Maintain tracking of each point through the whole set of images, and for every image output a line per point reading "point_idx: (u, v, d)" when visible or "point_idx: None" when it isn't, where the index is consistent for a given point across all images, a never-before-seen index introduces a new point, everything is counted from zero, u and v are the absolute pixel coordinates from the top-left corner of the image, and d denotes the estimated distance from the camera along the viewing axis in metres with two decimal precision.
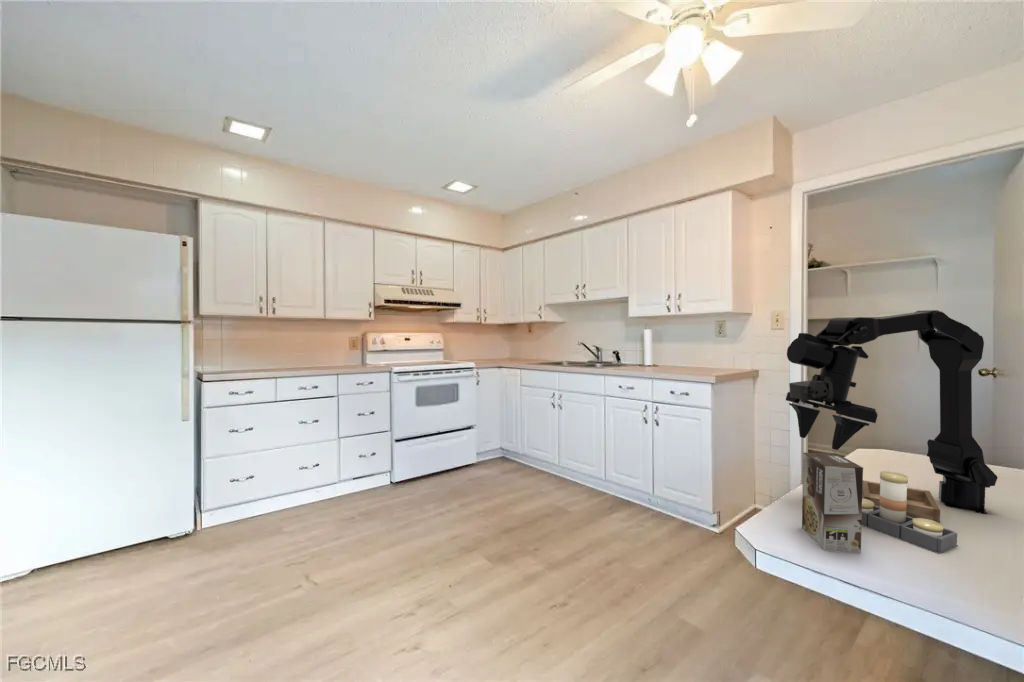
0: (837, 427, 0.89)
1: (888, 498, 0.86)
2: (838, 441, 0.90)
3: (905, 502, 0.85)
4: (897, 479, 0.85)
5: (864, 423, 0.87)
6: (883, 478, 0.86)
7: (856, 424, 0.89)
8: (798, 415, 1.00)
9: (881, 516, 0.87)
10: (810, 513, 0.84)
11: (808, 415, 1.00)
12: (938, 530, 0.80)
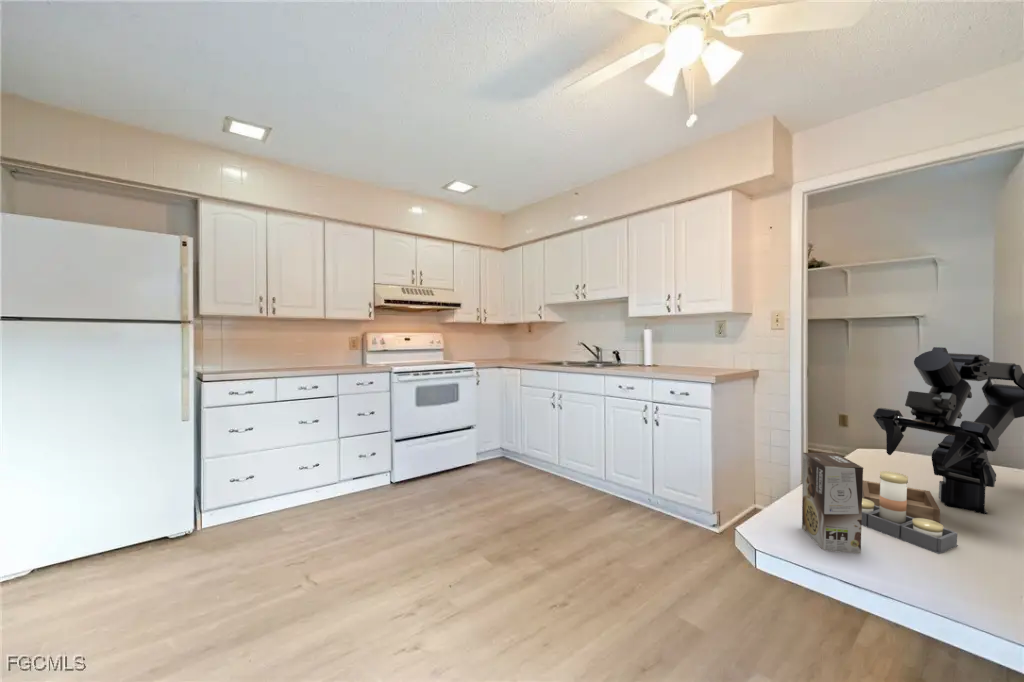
0: (955, 445, 0.85)
1: (888, 498, 0.86)
2: (951, 458, 0.85)
3: (905, 502, 0.85)
4: (897, 479, 0.85)
5: (983, 448, 0.85)
6: (883, 478, 0.86)
7: (971, 448, 0.86)
8: (888, 431, 0.96)
9: (881, 516, 0.87)
10: (810, 513, 0.84)
11: (897, 435, 0.96)
12: (938, 530, 0.80)
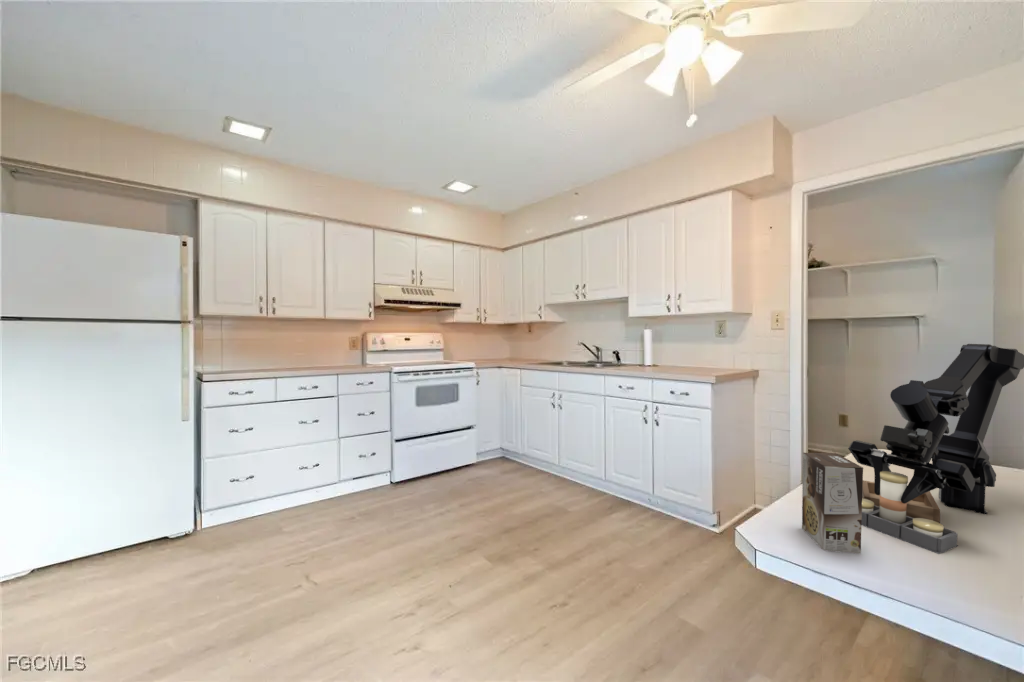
0: (914, 480, 0.84)
1: (888, 498, 0.86)
2: (910, 494, 0.84)
3: None
4: (897, 479, 0.85)
5: (942, 484, 0.83)
6: (883, 478, 0.86)
7: (930, 483, 0.84)
8: (877, 469, 0.90)
9: (881, 516, 0.87)
10: (810, 513, 0.84)
11: None
12: (938, 530, 0.80)
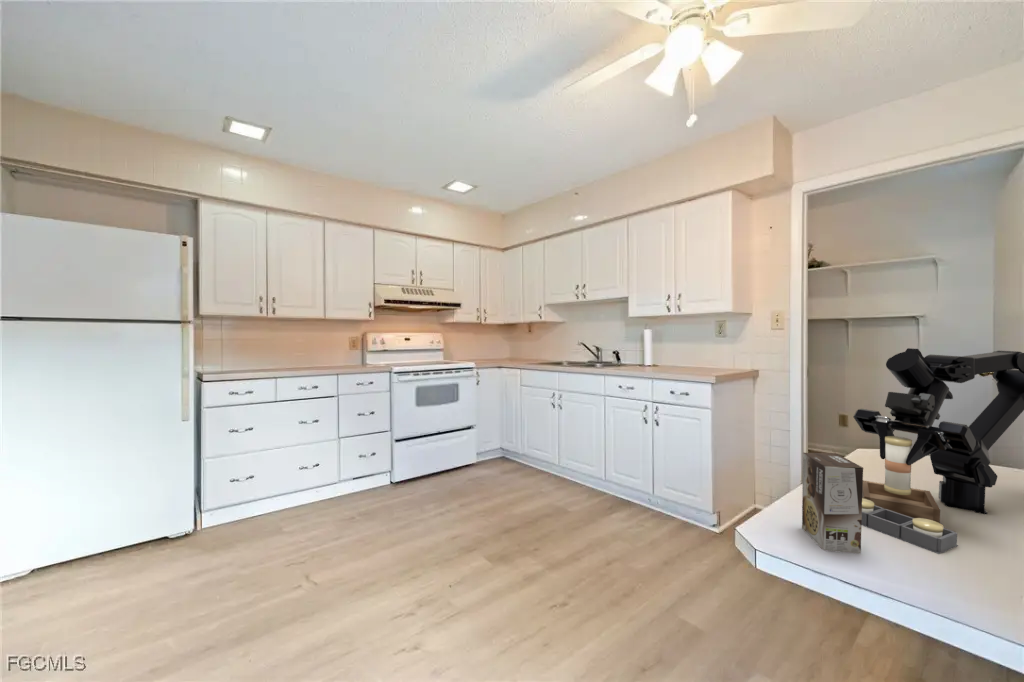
0: (918, 442, 0.88)
1: (893, 461, 0.89)
2: (914, 456, 0.87)
3: None
4: (901, 442, 0.88)
5: (944, 446, 0.87)
6: (888, 442, 0.90)
7: (933, 446, 0.88)
8: (881, 435, 0.93)
9: (887, 479, 0.91)
10: (810, 513, 0.84)
11: None
12: (938, 530, 0.80)
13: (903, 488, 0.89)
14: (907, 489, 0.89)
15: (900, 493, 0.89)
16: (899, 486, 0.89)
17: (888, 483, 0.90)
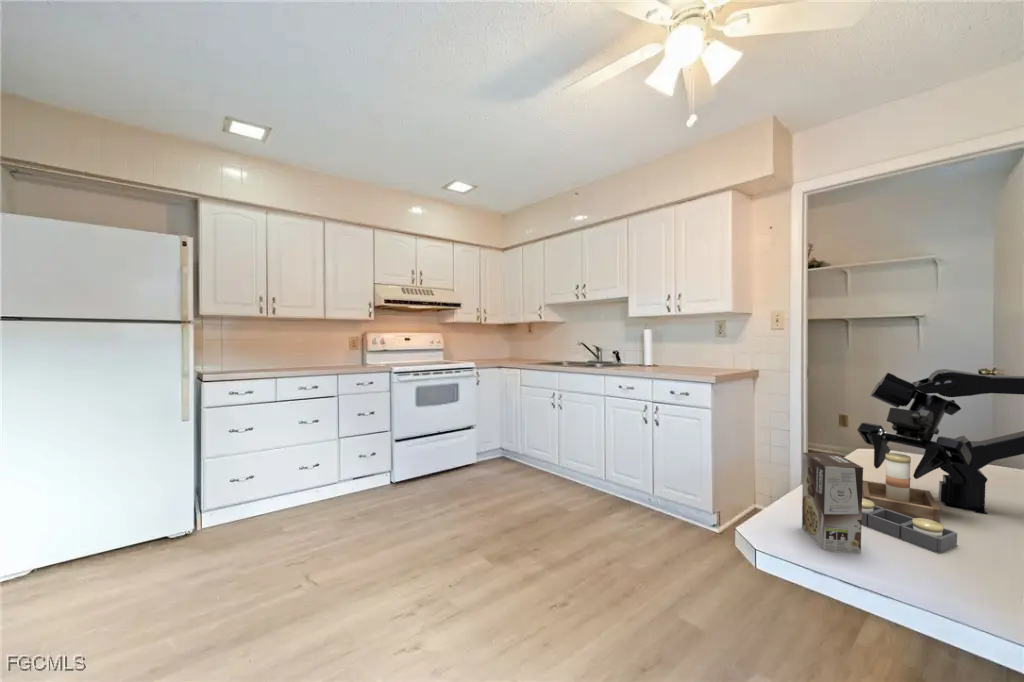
0: (926, 457, 0.93)
1: (893, 476, 0.96)
2: (922, 470, 0.93)
3: (909, 480, 0.95)
4: (900, 459, 0.95)
5: (950, 461, 0.92)
6: (888, 459, 0.97)
7: (940, 461, 0.93)
8: (876, 446, 1.01)
9: (887, 493, 0.97)
10: (810, 513, 0.84)
11: (884, 449, 1.01)
12: (938, 530, 0.80)
13: None
14: None
15: None
16: (899, 500, 0.95)
17: (889, 497, 0.97)
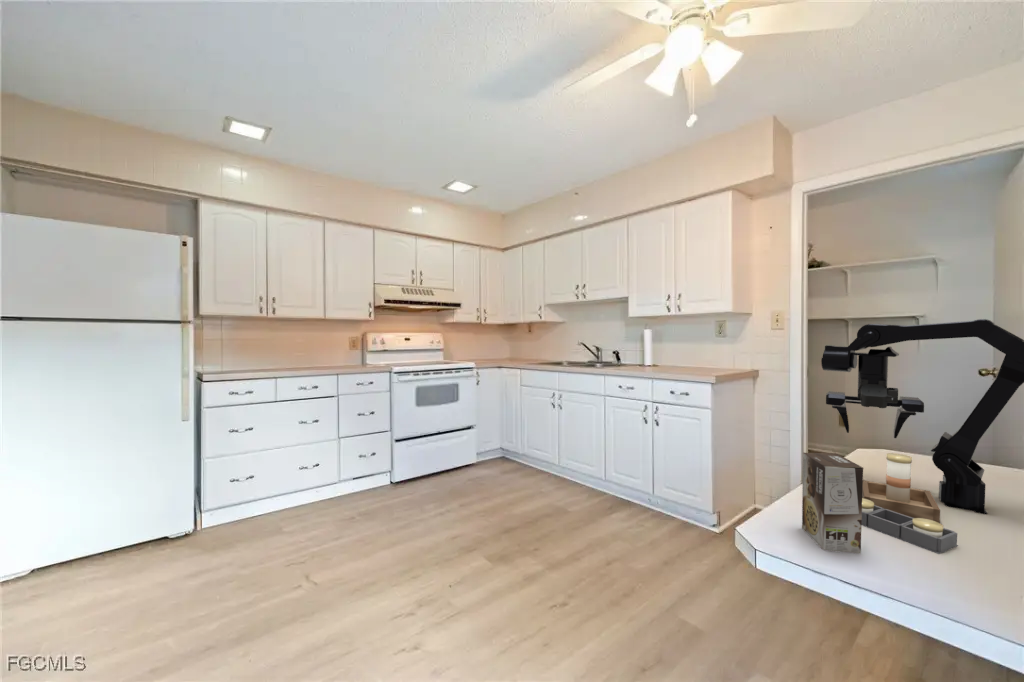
0: (900, 421, 1.06)
1: (894, 477, 0.96)
2: (899, 431, 1.07)
3: (909, 480, 0.95)
4: (902, 459, 0.95)
5: None
6: (889, 459, 0.97)
7: None
8: (843, 415, 1.12)
9: (888, 493, 0.97)
10: (810, 513, 0.84)
11: None
12: (939, 530, 0.80)
13: None
14: None
15: None
16: (899, 500, 0.95)
17: (889, 497, 0.97)
